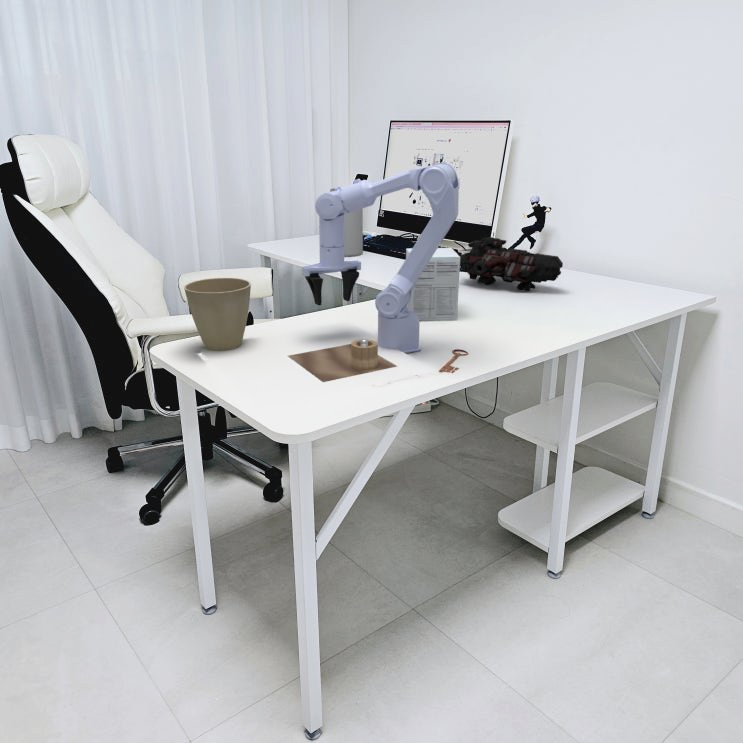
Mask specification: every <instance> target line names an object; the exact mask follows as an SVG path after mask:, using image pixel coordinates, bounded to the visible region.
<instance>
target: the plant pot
mask: <svg viewBox="0 0 743 743" xmlns="http://www.w3.org/2000/svg"><path fill="white" fill-rule="evenodd" d="M251 286H252V283H251V281H249V280H247V279H244V278H239V277H214V278H213V277H212V278H203V279H199V280H198V279H197V280H194V281H191V282H188V283H185V285H184V287H183V288H184V293H185V296H186V300H187V303H188V304H187V305H188V307H189V312H190V314H191V316H192V320H193V322H194V325H195V328H196V330H197V333H198V335H199V337H200V339H201V341H202V343H203V345H204V347H205V348H206V349H208V350H211V351H217V352H218V351H220V352H221V351H228V350H229V351H230V350H234V349H237V348H239V347H240V346H241V345H242V342H243V338H244V335H245V330H246V327H247V321H248V315H249V311H250V303H251V302H250V300H251V288H252V287H251Z"/></svg>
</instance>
